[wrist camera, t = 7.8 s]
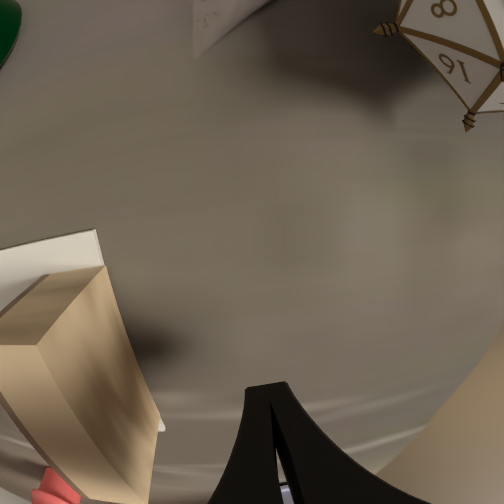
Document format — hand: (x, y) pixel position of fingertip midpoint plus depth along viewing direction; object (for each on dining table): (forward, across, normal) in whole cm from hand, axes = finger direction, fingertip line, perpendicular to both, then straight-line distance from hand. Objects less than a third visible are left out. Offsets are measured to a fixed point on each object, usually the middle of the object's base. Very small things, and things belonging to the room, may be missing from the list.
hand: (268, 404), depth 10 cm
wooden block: (+4, +8, 0) cm, 9 cm away
